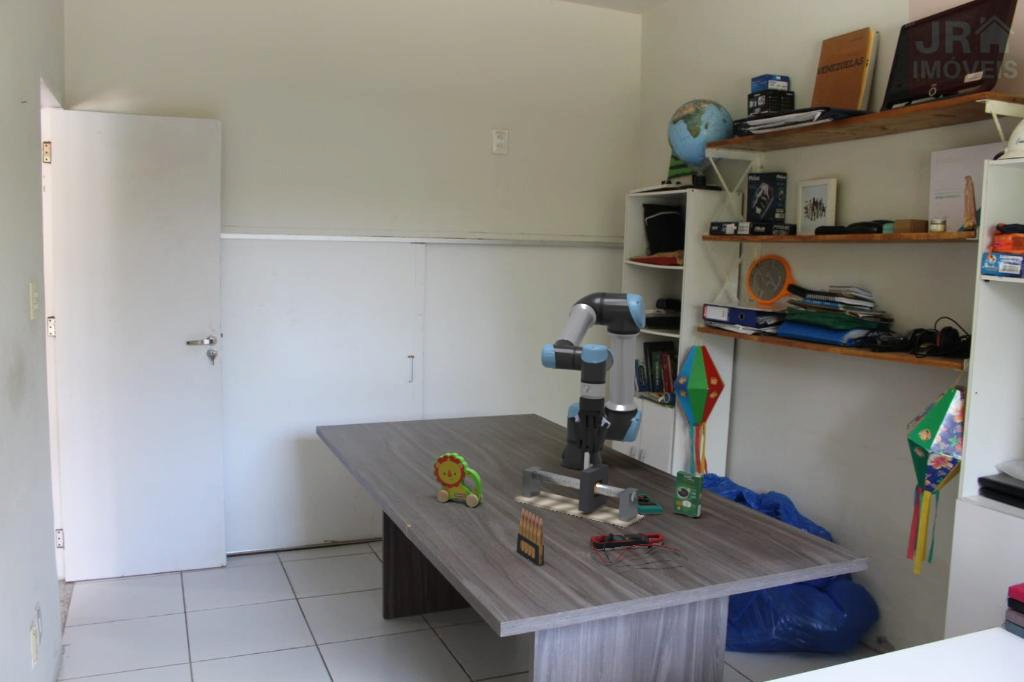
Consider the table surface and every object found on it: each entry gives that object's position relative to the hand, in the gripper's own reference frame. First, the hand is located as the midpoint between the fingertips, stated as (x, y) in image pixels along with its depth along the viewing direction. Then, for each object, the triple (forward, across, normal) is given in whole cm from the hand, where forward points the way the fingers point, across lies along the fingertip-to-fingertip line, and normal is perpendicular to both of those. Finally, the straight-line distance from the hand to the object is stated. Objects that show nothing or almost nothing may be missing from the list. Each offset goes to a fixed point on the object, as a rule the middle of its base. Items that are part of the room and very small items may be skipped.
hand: (587, 473), depth 256 cm
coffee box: (+12, +25, +18) cm, 33 cm away
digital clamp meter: (+13, +28, -23) cm, 38 cm away
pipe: (+12, -3, 0) cm, 12 cm away
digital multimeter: (+13, +11, +16) cm, 23 cm away
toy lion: (+12, -35, -19) cm, 42 cm away
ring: (+10, +2, 0) cm, 10 cm away
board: (+12, -3, 0) cm, 12 cm away
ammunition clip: (+12, +8, -43) cm, 45 cm away
